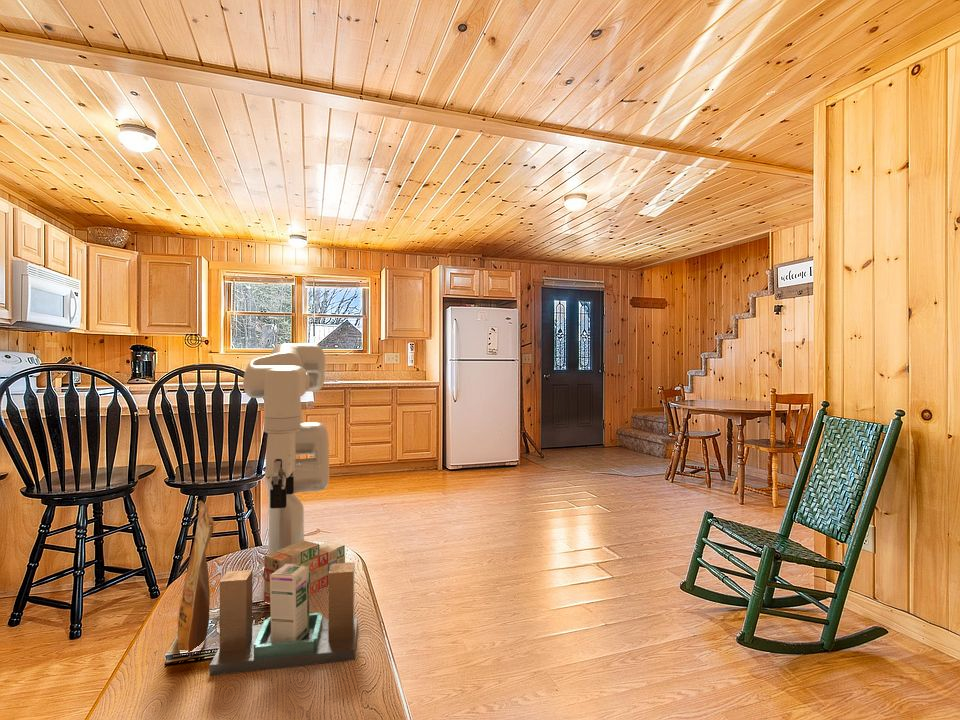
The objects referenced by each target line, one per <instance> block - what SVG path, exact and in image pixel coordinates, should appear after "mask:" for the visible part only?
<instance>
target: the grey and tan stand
mask: <svg viewBox="0 0 960 720" xmlns="http://www.w3.org/2000/svg"><path fill="white" fill-rule="evenodd" d="M253 570H254V569H244V570H232V571H231V570H230V571H226V572H225V573H224V575H223V576H222V577H221V579H220V580H219V647H218V649H217V650H216V653H215V654H214V656H213V658H212V660H211V661H210V663H209V667H208V668H209V675H208V676H218V675H226V674H235V673H236V674H237V673H247V672H254V671H263V670H265V671H266V670H272V669H282V668H290V667H291V668H292V667H300V666H311V665H318V664H327V663H336V662H337V663H339V662H347V661H354V660H355V658H356V645H357V636H358V626H359V624H358V622H359V619H358V615H355V562H345V563H337V564H331V565H330V570H329V586H328V606H327V607H328V611H327V612H328V613H327V614H328V617H327V618H324V617H323V615H324V614H322V612H321V611H320V612H318V611H317V612H309V627H310V631H309V632H308V633H307V634H306V635H305V636H304V637H303V638H302V639H301V640H297V641H287V642H277V643H271V616H268V617H267V619H264V621H263V623H262V624H253V582H254V581H253V575H254V574H253Z"/></svg>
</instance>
